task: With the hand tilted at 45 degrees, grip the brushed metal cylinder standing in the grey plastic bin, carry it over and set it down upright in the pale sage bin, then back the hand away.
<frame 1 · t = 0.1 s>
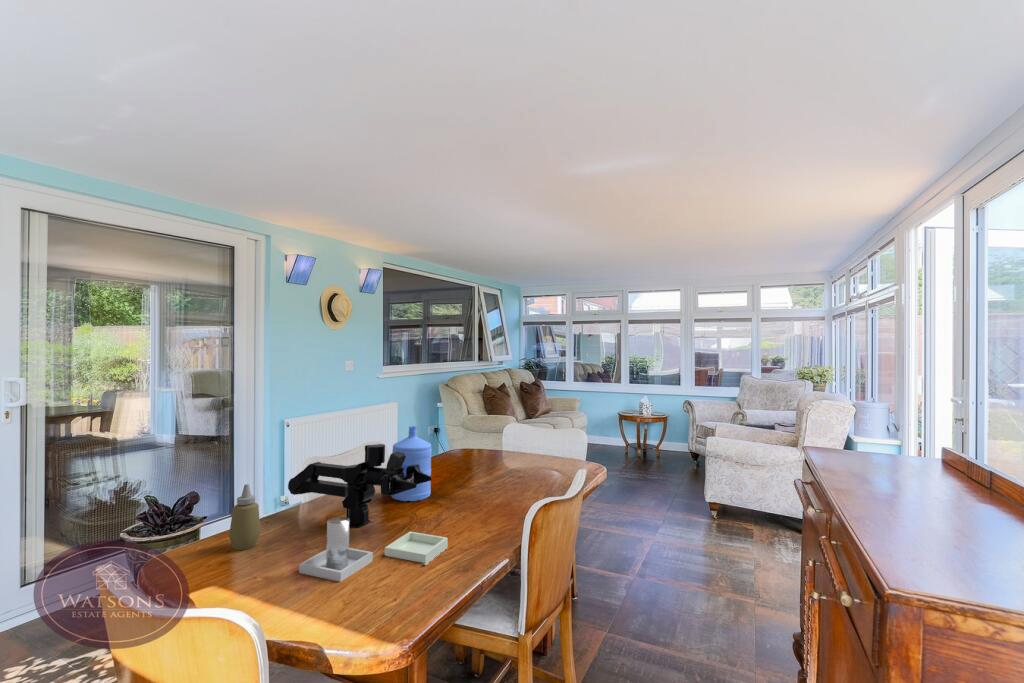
hand: (424, 482, 150), 17 cm above the table, tool horizontal, fingers open, 9 cm apart
sage bin: (416, 552, 136), on the table
squeeze bottle: (244, 547, 138), on the table
grey bin: (337, 569, 124), on the table
brushed metal cylinder: (337, 566, 124), point 1 cm above the table, touching grey bin
water jug: (411, 496, 190), on the table
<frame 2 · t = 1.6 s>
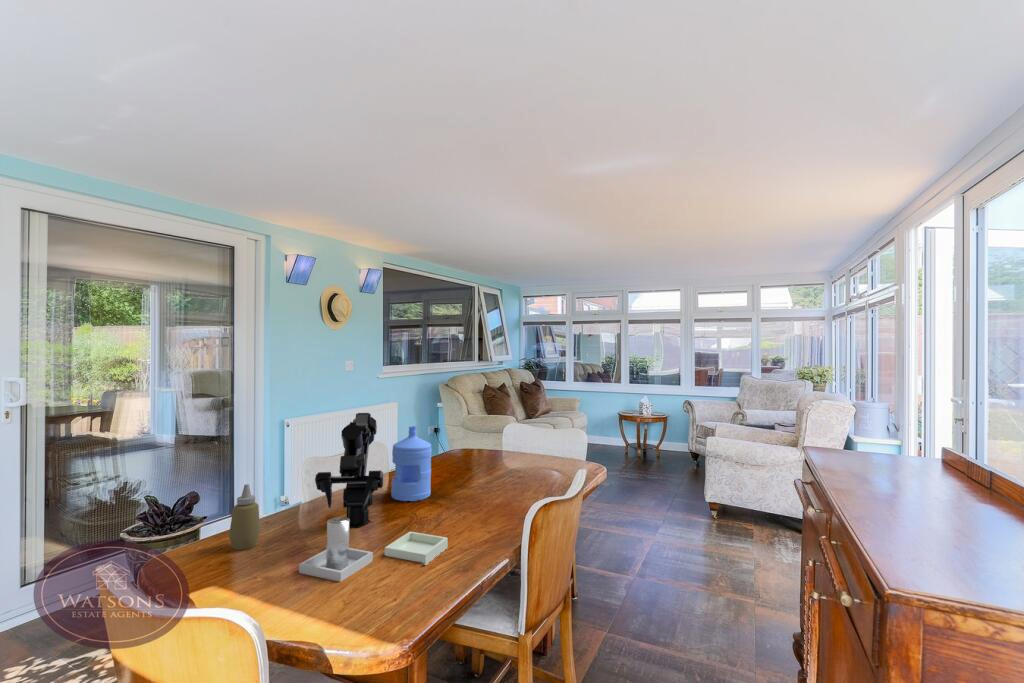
hand: (346, 506, 133), 14 cm above the table, tool tilted 45°, fingers open, 9 cm apart
nothing on the table moved.
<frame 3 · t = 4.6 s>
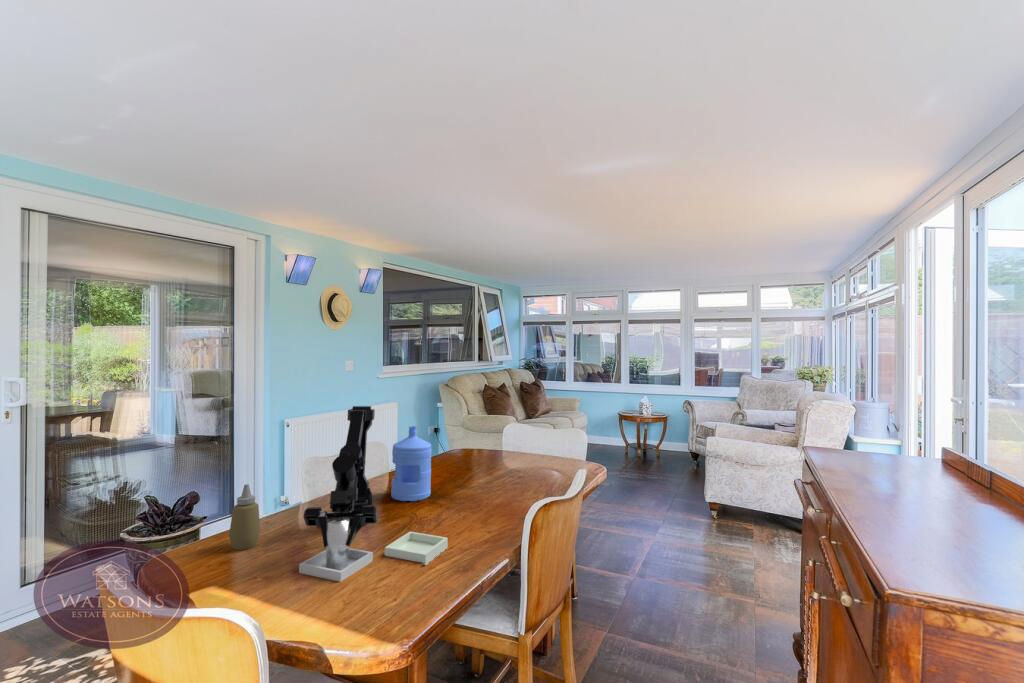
hand: (336, 546, 123), 7 cm above the table, tool tilted 45°, fingers closed on brushed metal cylinder, 6 cm apart
brushed metal cylinder: (337, 566, 124), point 1 cm above the table, touching grey bin, gripper
everything else where it was.
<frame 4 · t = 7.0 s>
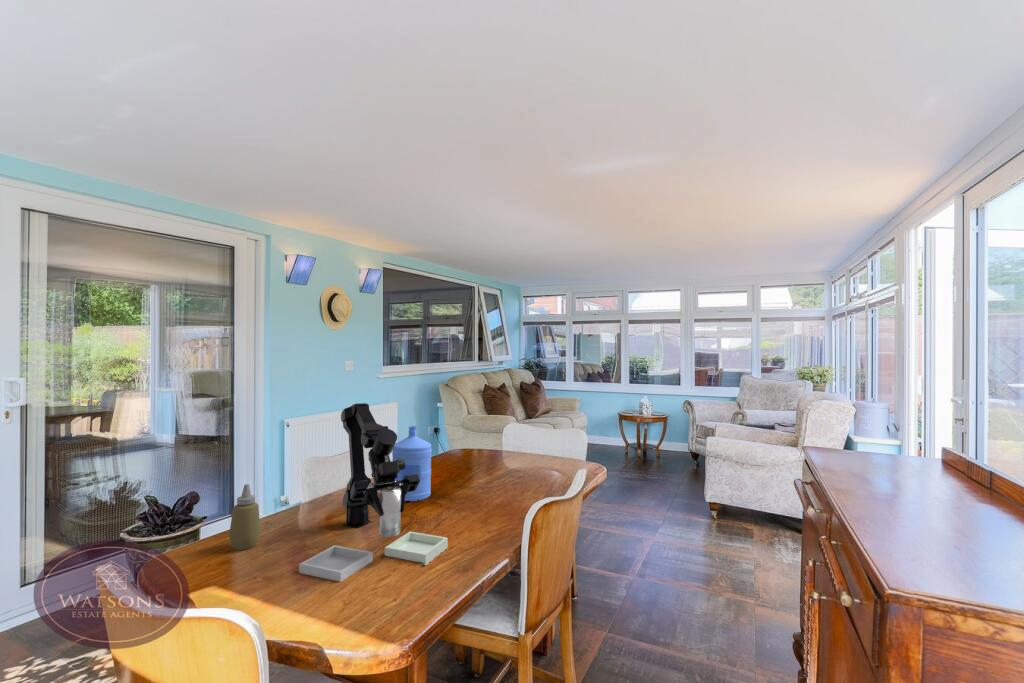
hand: (392, 513, 129), 13 cm above the table, tool tilted 45°, fingers closed on brushed metal cylinder, 6 cm apart
brushed metal cylinder: (389, 533, 130), point 8 cm above the table, touching gripper
everything else where it was.
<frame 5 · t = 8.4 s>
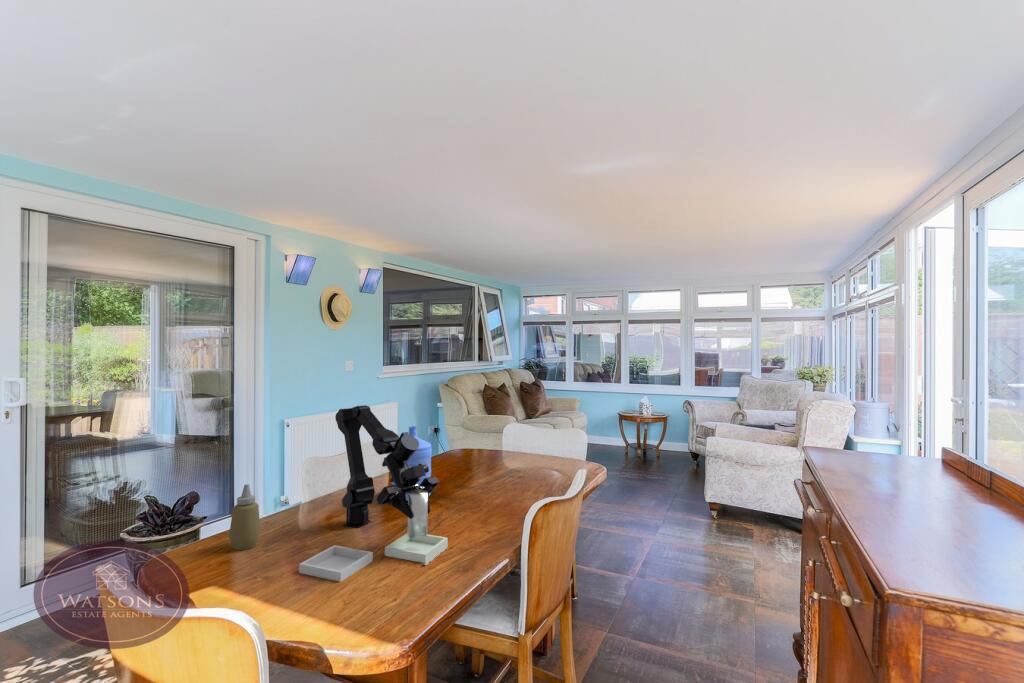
hand: (420, 515, 135), 11 cm above the table, tool tilted 45°, fingers closed on brushed metal cylinder, 6 cm apart
brushed metal cylinder: (417, 534, 136), point 5 cm above the table, touching gripper
everything else where it was.
when the fingers open (8 cm above the table, at t = 9.5 s): brushed metal cylinder drops 1 cm, resting on sage bin.
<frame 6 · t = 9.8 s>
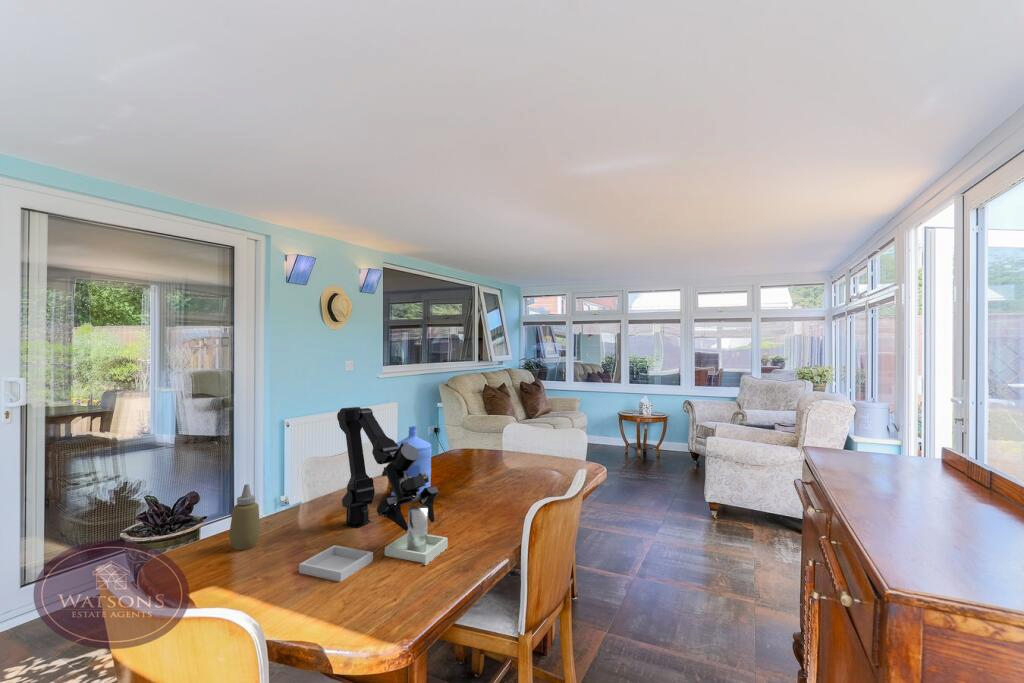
hand: (420, 525, 135), 8 cm above the table, tool tilted 45°, fingers open, 9 cm apart
brushed metal cylinder: (416, 550, 136), point 1 cm above the table, touching sage bin
everything else where it was.
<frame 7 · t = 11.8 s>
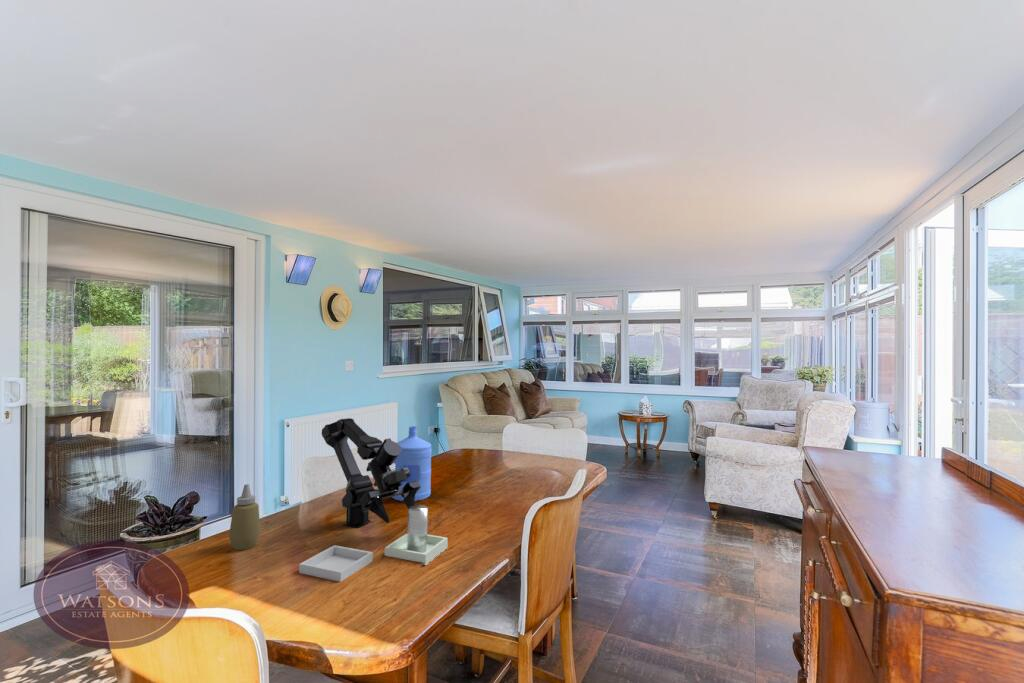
hand: (401, 518, 141), 8 cm above the table, tool tilted 45°, fingers open, 9 cm apart
nothing on the table moved.
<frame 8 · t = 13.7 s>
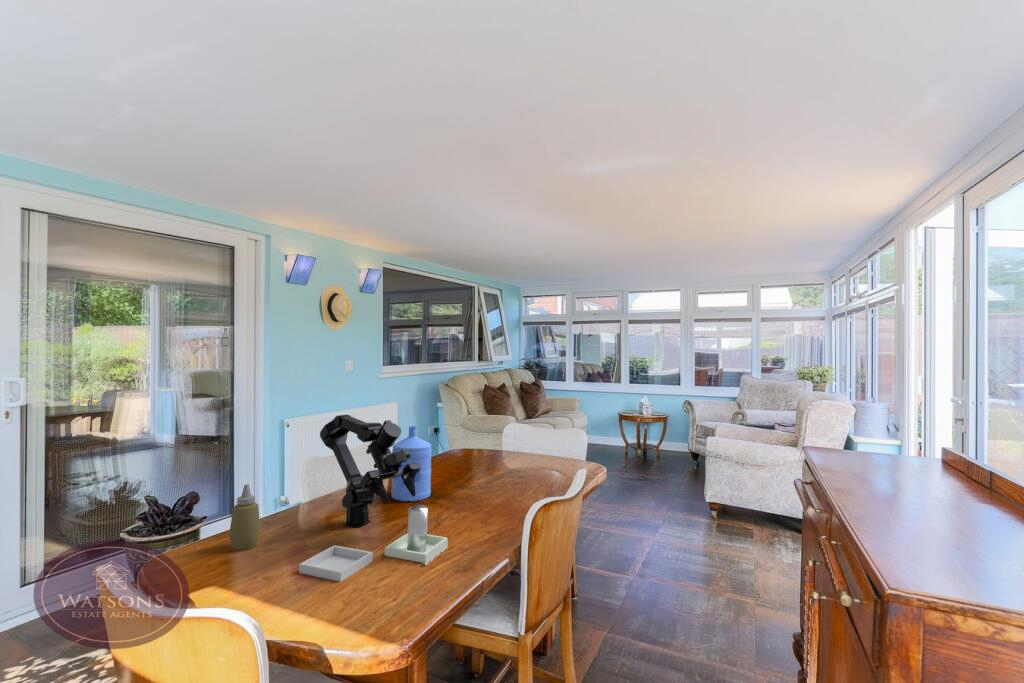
hand: (401, 498, 142), 14 cm above the table, tool tilted 45°, fingers open, 9 cm apart
nothing on the table moved.
at the end: brushed metal cylinder inside the target area (0.0 cm from its centre), point 0.8 cm above the table; brushed metal cylinder tilted 1°; the gripper is holding nothing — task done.
